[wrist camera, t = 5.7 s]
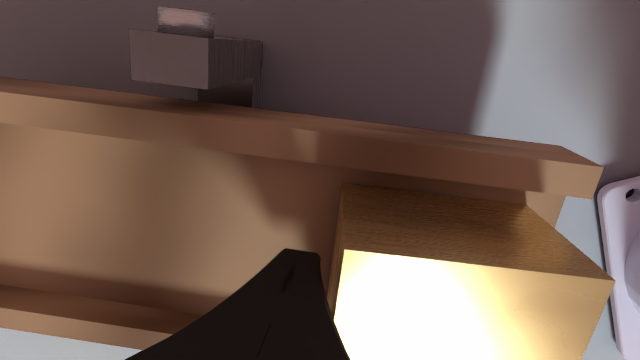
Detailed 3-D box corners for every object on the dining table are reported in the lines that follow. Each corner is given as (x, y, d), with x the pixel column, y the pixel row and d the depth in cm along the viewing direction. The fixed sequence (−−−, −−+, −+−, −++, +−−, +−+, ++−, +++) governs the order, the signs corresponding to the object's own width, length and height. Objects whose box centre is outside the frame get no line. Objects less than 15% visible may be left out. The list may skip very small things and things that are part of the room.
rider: (526, 204, 10) (615, 281, 7) (483, 339, 12) (539, 453, 9) (342, 183, 10) (344, 249, 7) (323, 320, 12) (318, 427, 9)
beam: (560, 146, 11) (604, 167, 9) (490, 356, 13) (512, 408, 11) (-154, 57, 12) (-251, 60, 10) (-89, 268, 14) (-156, 302, 12)
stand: (263, 23, 14) (208, 11, 9) (248, 308, 18) (206, 402, 13) (208, 17, 14) (126, 2, 9) (207, 301, 18) (150, 392, 13)
